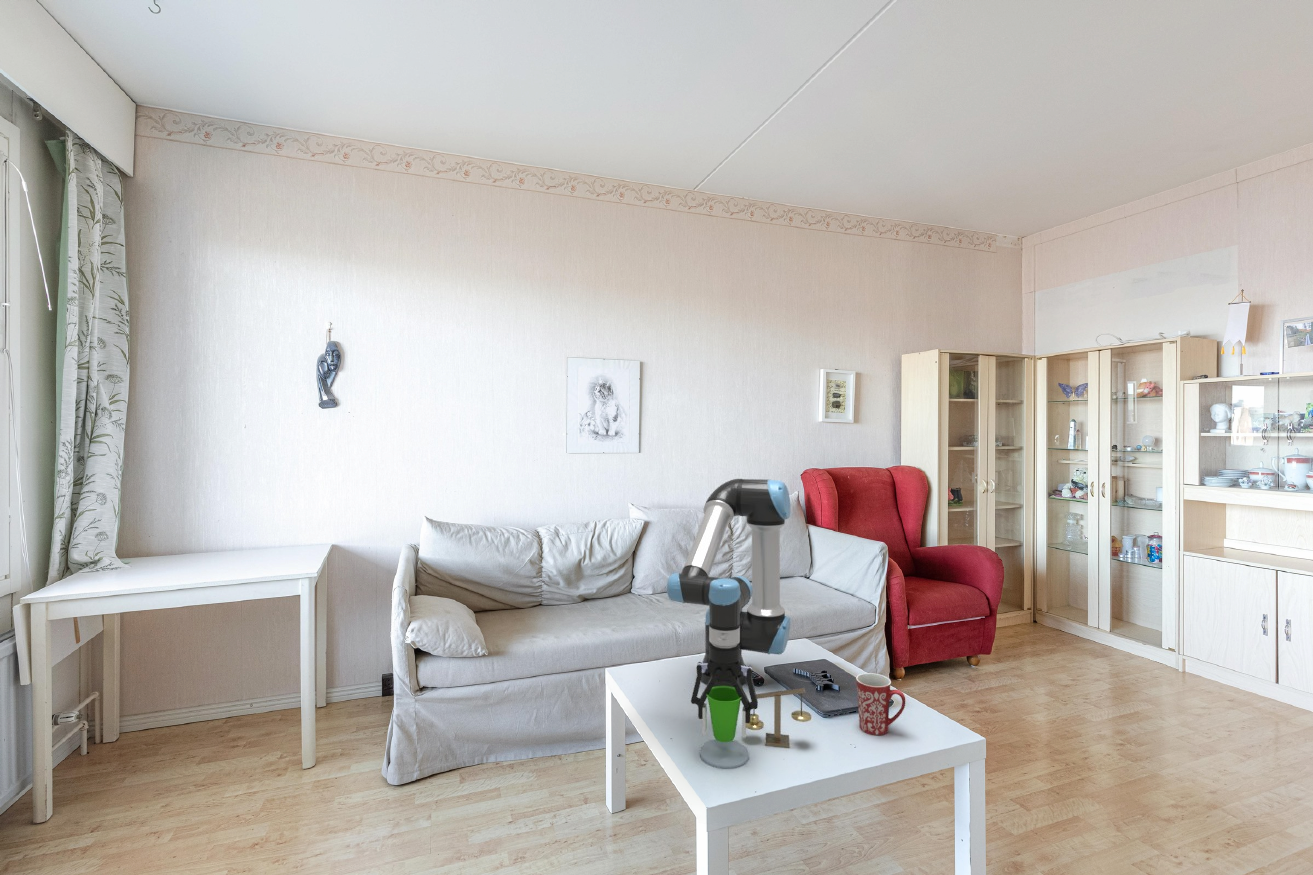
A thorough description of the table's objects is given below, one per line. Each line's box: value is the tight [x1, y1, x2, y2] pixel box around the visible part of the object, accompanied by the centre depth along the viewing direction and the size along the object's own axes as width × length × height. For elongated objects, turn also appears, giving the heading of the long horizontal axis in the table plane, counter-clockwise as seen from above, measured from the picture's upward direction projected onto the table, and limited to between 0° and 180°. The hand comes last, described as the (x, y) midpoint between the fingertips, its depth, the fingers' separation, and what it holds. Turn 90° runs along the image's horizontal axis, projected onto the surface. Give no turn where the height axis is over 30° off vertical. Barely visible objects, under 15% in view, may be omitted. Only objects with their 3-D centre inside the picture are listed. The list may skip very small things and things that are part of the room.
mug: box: [855, 672, 906, 736], centre depth 167 cm, size 13×9×14 cm
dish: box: [699, 738, 750, 770], centre depth 155 cm, size 12×12×1 cm
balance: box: [746, 687, 812, 749], centre depth 161 cm, size 17×5×14 cm, turn 79°
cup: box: [706, 686, 742, 742], centre depth 154 cm, size 9×9×11 cm
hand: (724, 732), depth 154 cm, fingers closed on cup, 9 cm apart
